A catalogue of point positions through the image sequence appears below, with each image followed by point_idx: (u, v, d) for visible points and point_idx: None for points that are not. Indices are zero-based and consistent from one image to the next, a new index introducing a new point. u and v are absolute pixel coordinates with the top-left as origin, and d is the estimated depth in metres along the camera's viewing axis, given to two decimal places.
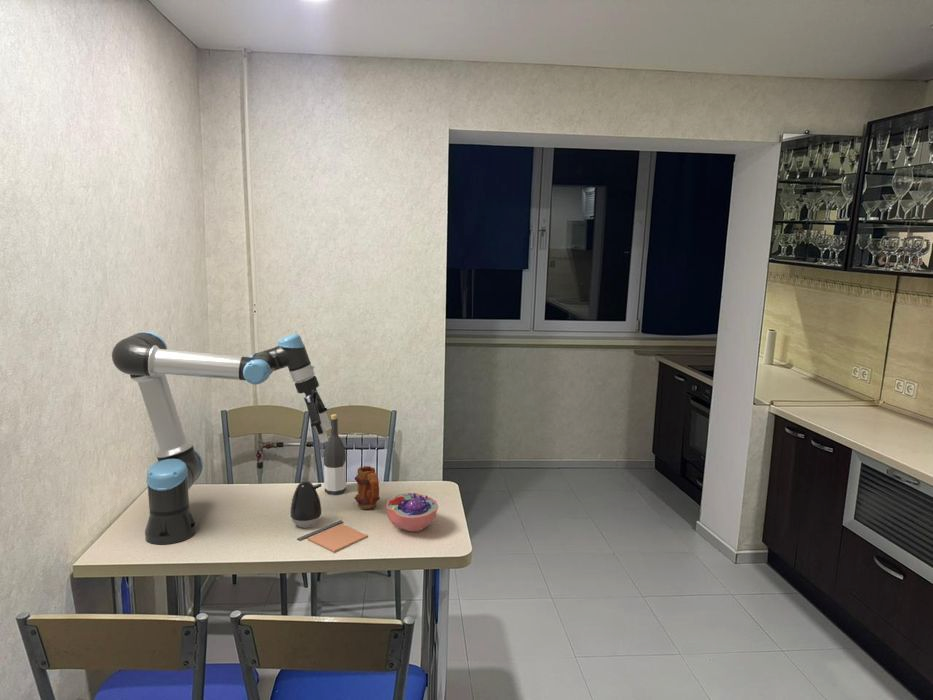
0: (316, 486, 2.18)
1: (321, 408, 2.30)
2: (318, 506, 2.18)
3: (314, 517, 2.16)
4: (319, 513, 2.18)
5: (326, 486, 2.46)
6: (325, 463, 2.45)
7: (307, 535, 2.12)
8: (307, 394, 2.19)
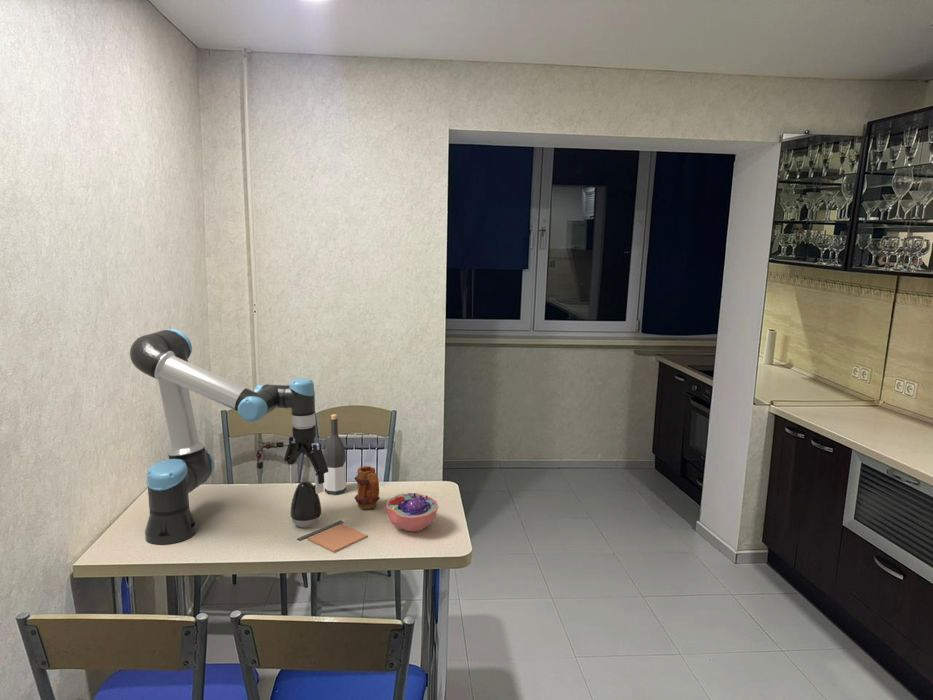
0: None
1: (296, 459, 2.21)
2: (318, 506, 2.18)
3: (314, 517, 2.16)
4: (319, 513, 2.18)
5: (326, 486, 2.46)
6: None
7: (307, 535, 2.12)
8: (311, 441, 2.13)
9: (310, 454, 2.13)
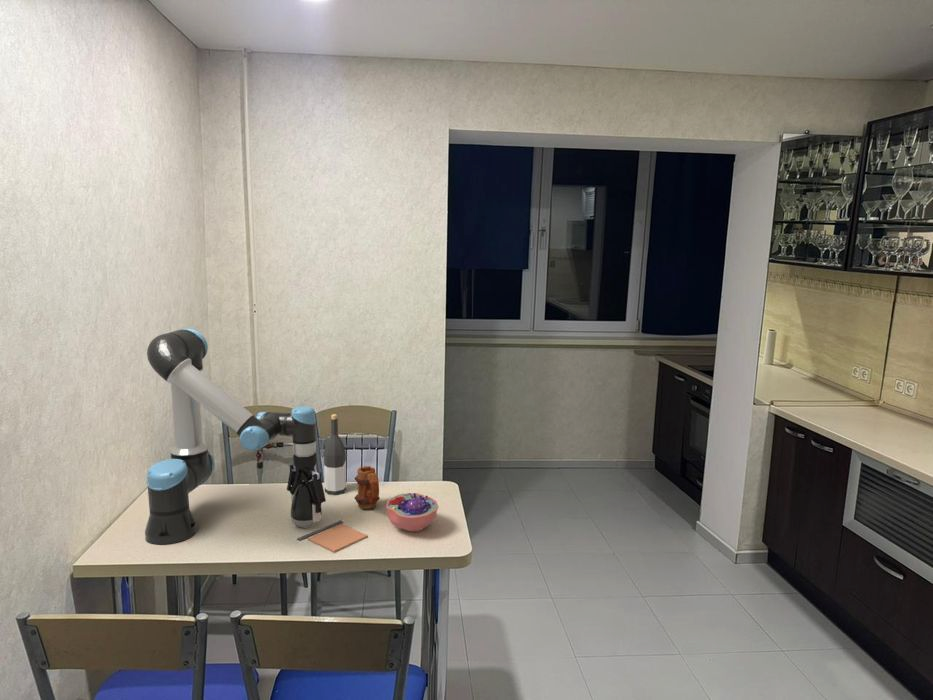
0: None
1: None
2: None
3: None
4: None
5: (326, 486, 2.46)
6: (325, 463, 2.45)
7: (307, 535, 2.12)
8: (311, 470, 2.14)
9: (309, 482, 2.15)
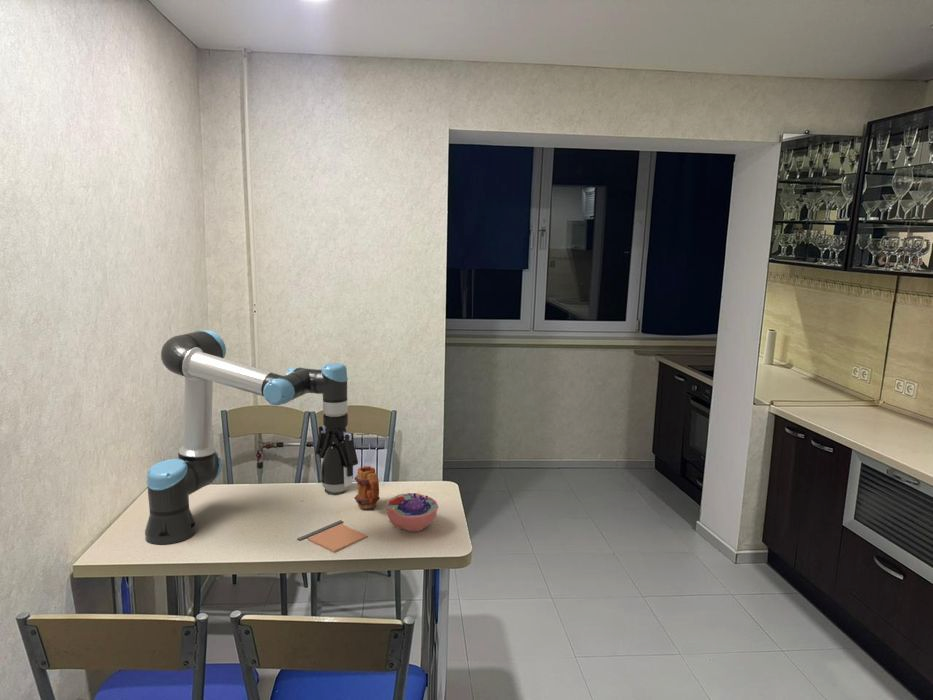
0: None
1: None
2: None
3: None
4: None
5: None
6: None
7: (307, 535, 2.12)
8: (343, 430, 2.01)
9: (341, 444, 2.02)
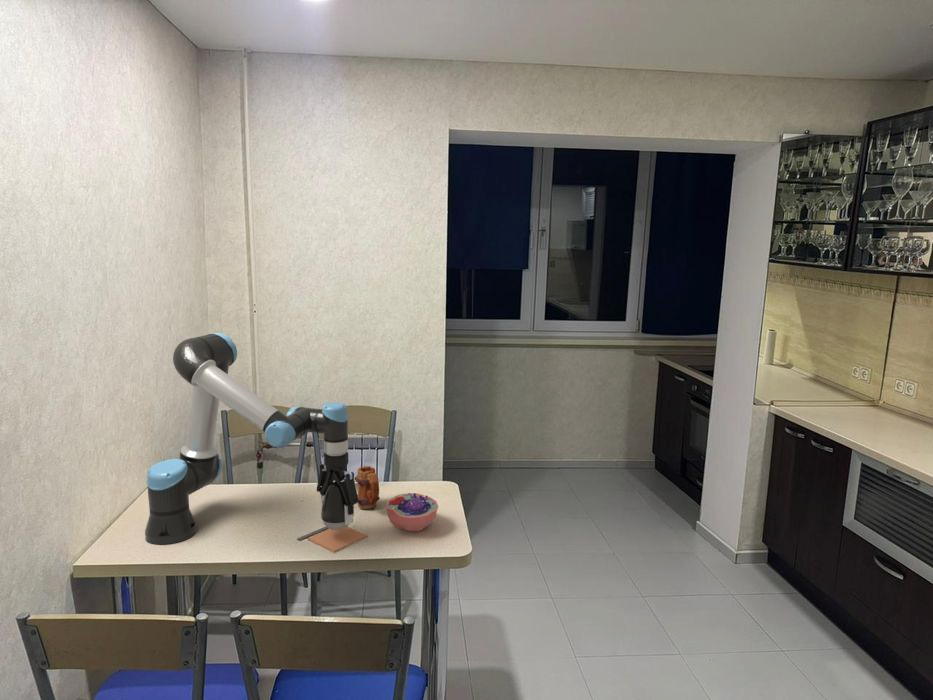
0: None
1: None
2: None
3: None
4: None
5: None
6: None
7: (307, 535, 2.12)
8: (343, 469, 2.04)
9: (342, 483, 2.04)
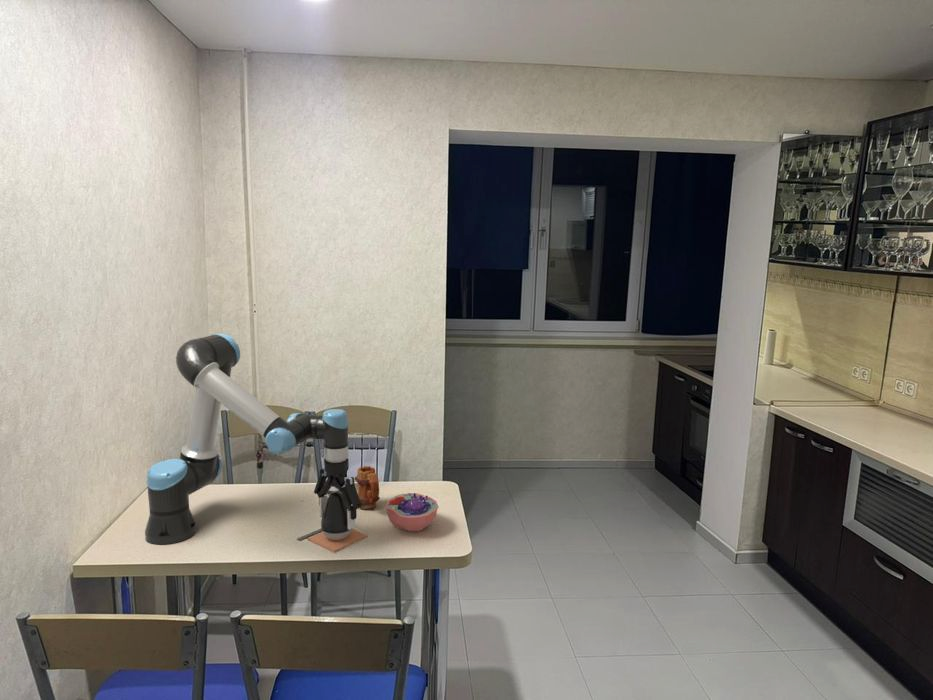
0: None
1: (326, 491, 2.12)
2: None
3: (346, 529, 2.06)
4: None
5: None
6: None
7: (307, 535, 2.12)
8: (343, 475, 2.04)
9: (342, 488, 2.04)
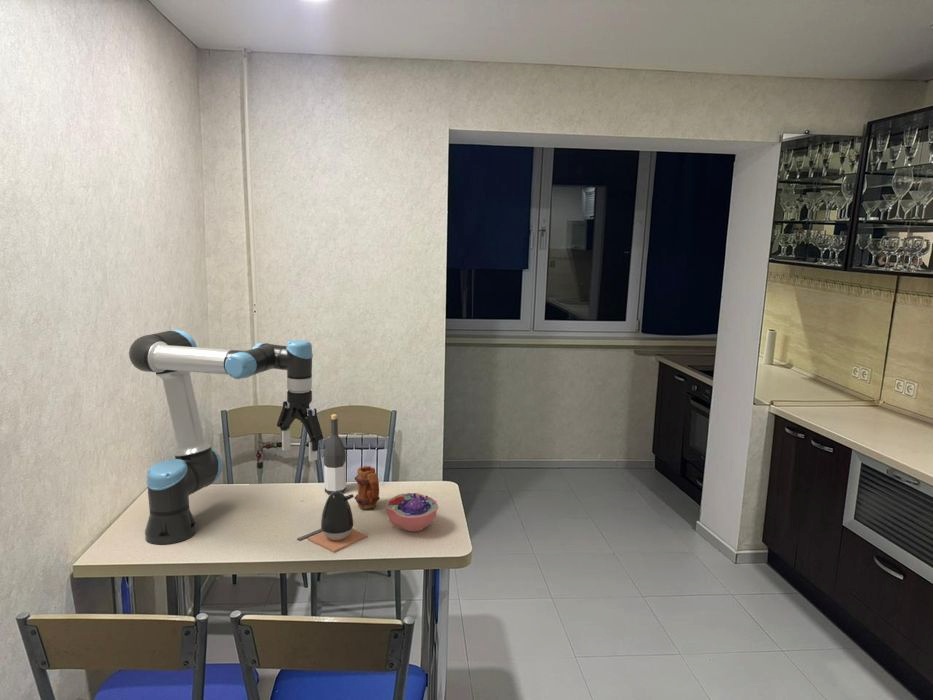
0: (348, 497, 2.08)
1: (289, 425, 2.10)
2: (350, 518, 2.08)
3: (346, 529, 2.06)
4: (351, 525, 2.08)
5: (326, 486, 2.46)
6: (325, 463, 2.45)
7: (307, 535, 2.12)
8: (306, 407, 2.02)
9: (305, 420, 2.02)
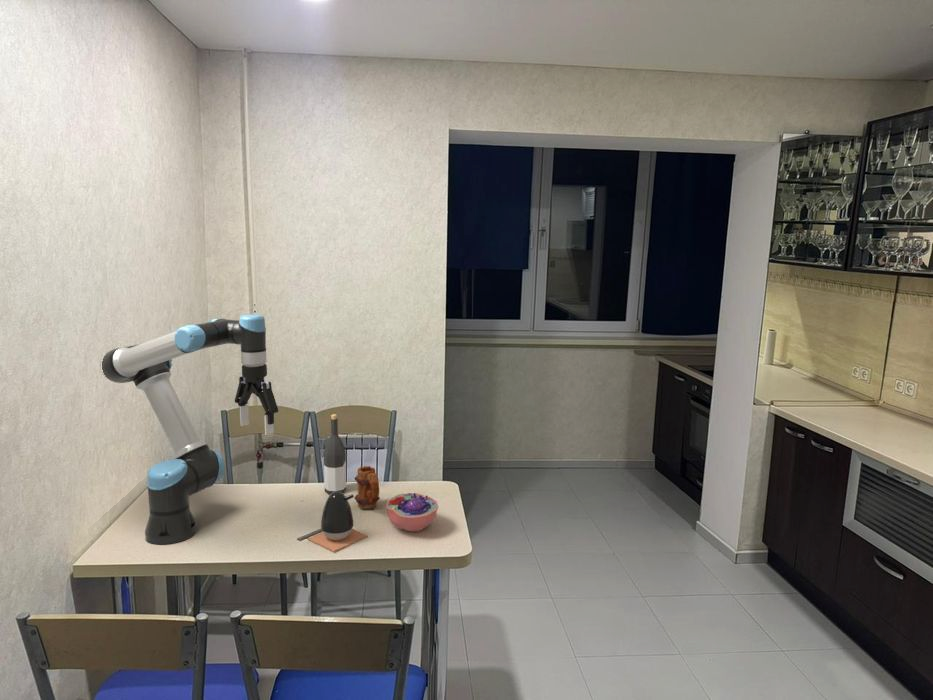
0: (348, 497, 2.08)
1: (246, 400, 2.11)
2: (350, 518, 2.08)
3: (346, 529, 2.06)
4: (351, 525, 2.08)
5: (326, 486, 2.46)
6: (325, 463, 2.45)
7: (307, 535, 2.12)
8: (260, 380, 2.03)
9: (260, 393, 2.03)
